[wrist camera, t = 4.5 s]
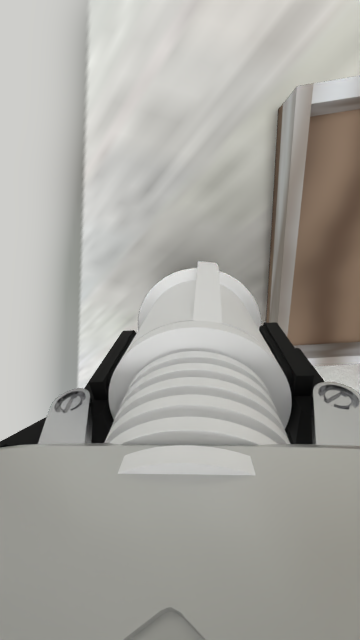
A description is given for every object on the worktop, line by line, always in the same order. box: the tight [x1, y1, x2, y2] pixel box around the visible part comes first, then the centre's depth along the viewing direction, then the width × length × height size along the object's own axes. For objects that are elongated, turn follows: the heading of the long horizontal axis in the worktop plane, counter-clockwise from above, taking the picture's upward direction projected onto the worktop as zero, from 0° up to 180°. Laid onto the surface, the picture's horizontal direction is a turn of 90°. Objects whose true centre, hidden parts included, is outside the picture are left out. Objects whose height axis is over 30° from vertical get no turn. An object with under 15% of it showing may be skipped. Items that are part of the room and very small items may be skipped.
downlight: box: [104, 261, 292, 475], centre depth 9 cm, size 8×7×10 cm
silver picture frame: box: [266, 76, 360, 366], centre depth 20 cm, size 12×22×4 cm, turn 6°
